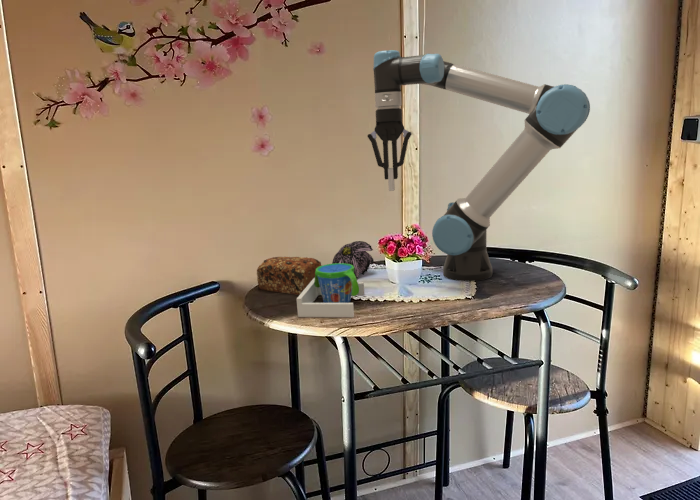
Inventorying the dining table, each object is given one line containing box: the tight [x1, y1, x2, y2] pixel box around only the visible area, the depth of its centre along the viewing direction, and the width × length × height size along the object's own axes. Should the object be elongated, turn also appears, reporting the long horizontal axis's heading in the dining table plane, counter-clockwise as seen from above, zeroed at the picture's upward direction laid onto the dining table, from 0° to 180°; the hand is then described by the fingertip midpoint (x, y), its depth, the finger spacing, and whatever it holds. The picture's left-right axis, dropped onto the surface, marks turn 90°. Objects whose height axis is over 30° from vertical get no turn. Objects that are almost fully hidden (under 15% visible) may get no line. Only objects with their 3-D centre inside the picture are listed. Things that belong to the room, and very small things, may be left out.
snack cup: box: [314, 263, 359, 303], centre depth 151 cm, size 16×10×10 cm
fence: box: [296, 278, 365, 318], centre depth 150 cm, size 15×20×5 cm
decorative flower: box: [331, 240, 374, 280], centre depth 179 cm, size 15×12×15 cm
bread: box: [256, 256, 323, 296], centre depth 167 cm, size 19×11×10 cm, turn 56°
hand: (391, 190), depth 162 cm, fingers closed
